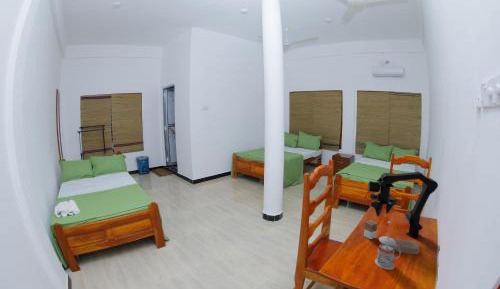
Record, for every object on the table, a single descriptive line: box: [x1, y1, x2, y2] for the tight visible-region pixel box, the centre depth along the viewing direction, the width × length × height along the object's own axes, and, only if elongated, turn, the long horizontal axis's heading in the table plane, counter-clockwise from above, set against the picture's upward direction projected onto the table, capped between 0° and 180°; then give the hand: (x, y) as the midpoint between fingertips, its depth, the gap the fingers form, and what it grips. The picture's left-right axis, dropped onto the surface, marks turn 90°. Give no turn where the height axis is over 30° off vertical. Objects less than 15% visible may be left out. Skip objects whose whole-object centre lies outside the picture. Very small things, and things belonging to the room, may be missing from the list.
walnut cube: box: [364, 219, 378, 232], centre depth 167 cm, size 5×5×5 cm
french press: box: [374, 220, 402, 270], centre depth 139 cm, size 10×12×25 cm
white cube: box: [363, 228, 377, 240], centre depth 168 cm, size 5×5×5 cm
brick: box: [391, 237, 420, 255], centre depth 155 cm, size 17×8×5 cm, turn 73°
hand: (382, 214), depth 173 cm, fingers open, 9 cm apart
